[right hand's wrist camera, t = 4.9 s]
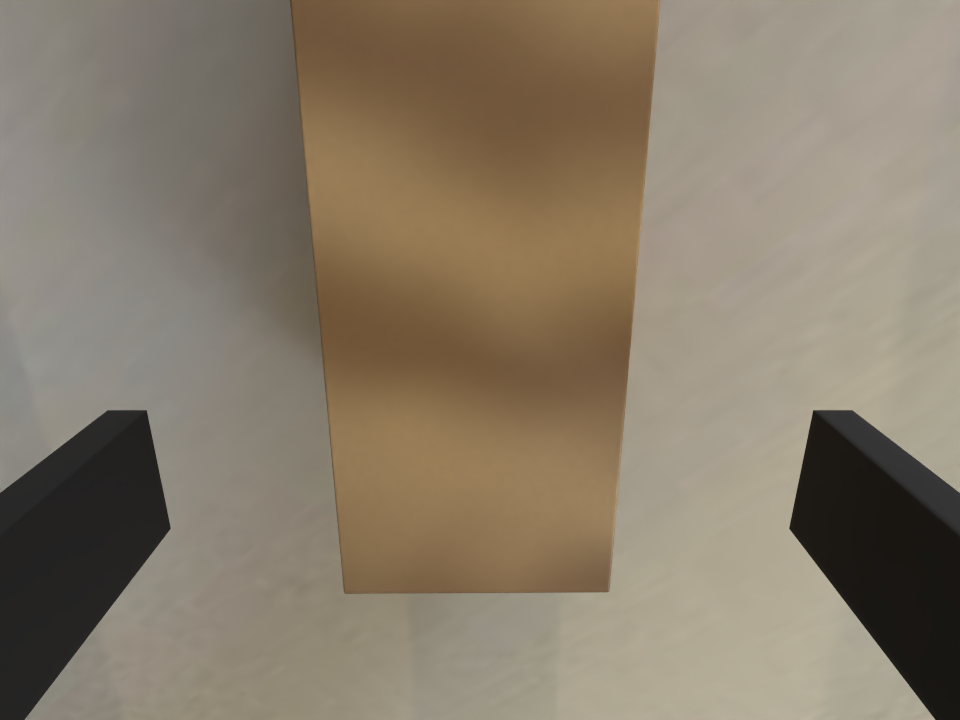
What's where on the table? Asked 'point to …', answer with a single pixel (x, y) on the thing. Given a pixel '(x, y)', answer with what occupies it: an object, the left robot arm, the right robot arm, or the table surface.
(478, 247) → the box
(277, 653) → the table surface
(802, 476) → the right robot arm
